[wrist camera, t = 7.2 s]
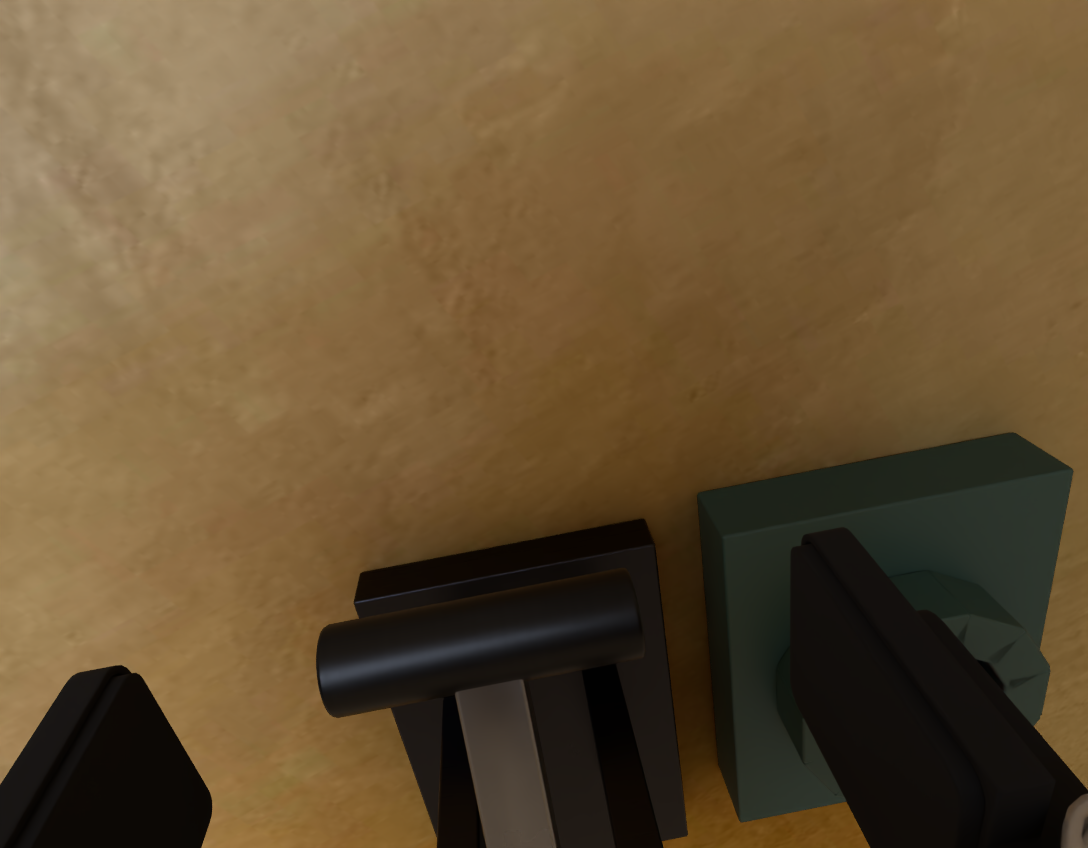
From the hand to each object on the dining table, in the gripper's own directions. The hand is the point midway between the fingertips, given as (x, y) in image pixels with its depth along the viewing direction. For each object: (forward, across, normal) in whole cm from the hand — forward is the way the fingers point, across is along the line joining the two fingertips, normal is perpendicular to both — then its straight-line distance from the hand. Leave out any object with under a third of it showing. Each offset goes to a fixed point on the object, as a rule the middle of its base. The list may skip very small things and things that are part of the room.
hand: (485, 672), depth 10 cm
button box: (+8, -10, +9) cm, 16 cm away
